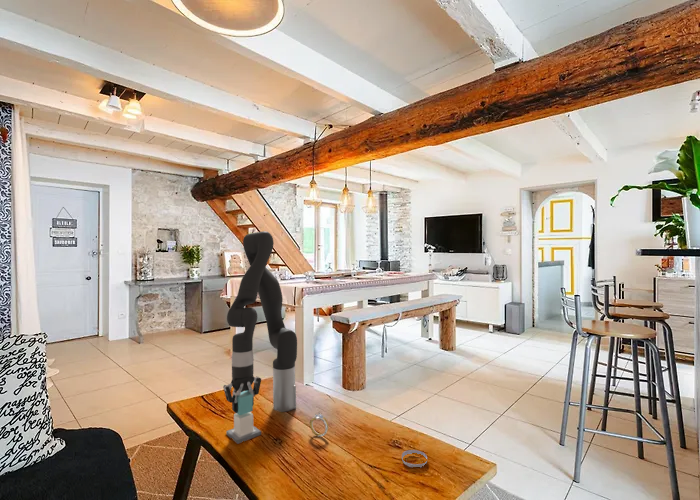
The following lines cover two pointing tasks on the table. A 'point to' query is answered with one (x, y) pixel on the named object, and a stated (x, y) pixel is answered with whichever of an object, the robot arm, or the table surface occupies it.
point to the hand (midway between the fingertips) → (243, 409)
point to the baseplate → (247, 436)
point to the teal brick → (245, 403)
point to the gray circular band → (411, 453)
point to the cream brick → (243, 423)
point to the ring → (320, 416)
